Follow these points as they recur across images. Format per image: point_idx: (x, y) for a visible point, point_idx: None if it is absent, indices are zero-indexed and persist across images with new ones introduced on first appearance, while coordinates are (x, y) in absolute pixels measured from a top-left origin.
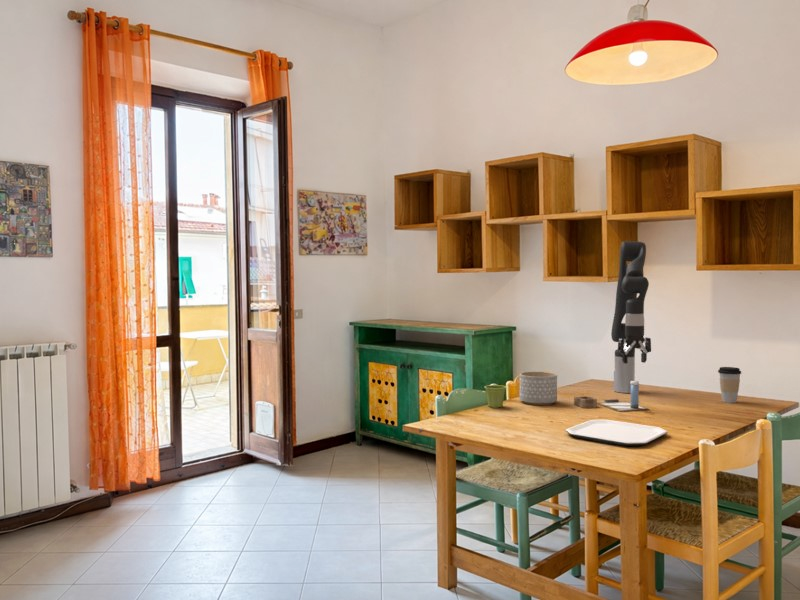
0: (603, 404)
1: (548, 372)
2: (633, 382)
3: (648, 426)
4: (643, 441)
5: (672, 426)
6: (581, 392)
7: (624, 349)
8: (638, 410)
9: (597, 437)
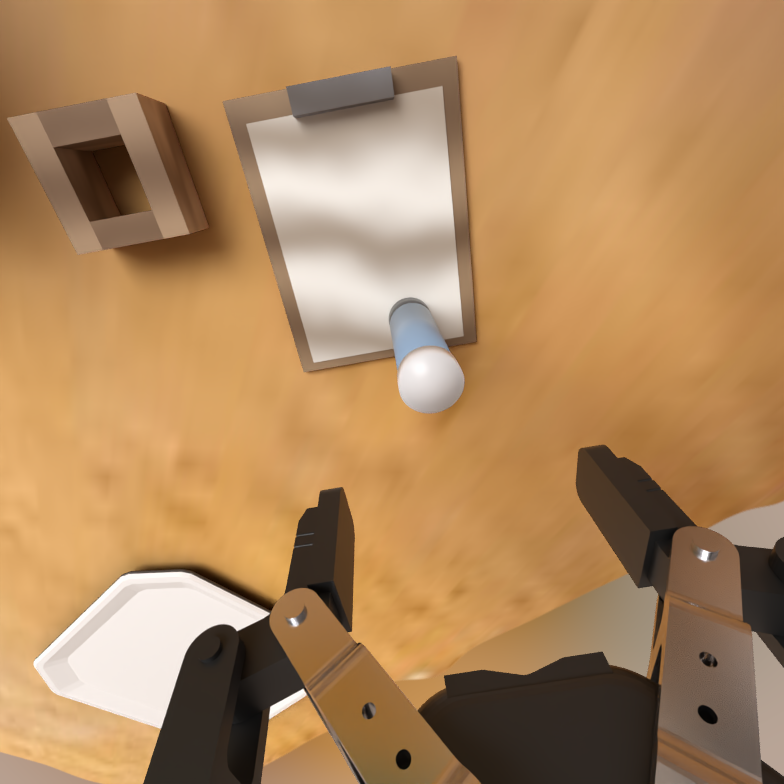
0: (260, 182)
1: None
2: (409, 405)
3: None
4: None
5: (409, 584)
6: None
7: (316, 677)
8: None
9: (127, 717)
